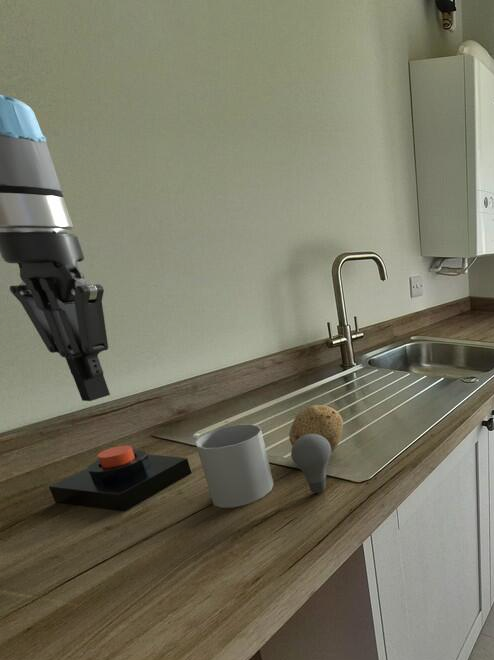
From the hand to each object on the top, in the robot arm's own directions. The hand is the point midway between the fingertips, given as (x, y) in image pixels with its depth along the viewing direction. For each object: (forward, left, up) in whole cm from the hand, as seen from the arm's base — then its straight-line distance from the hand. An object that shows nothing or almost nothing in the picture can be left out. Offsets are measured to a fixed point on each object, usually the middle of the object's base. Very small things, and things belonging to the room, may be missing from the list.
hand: (96, 397), depth 62 cm
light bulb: (+32, +4, -16) cm, 36 cm away
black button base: (0, 0, -16) cm, 16 cm away
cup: (+20, +2, -16) cm, 26 cm away
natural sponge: (+25, +15, -16) cm, 33 cm away
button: (0, 0, -11) cm, 11 cm away
